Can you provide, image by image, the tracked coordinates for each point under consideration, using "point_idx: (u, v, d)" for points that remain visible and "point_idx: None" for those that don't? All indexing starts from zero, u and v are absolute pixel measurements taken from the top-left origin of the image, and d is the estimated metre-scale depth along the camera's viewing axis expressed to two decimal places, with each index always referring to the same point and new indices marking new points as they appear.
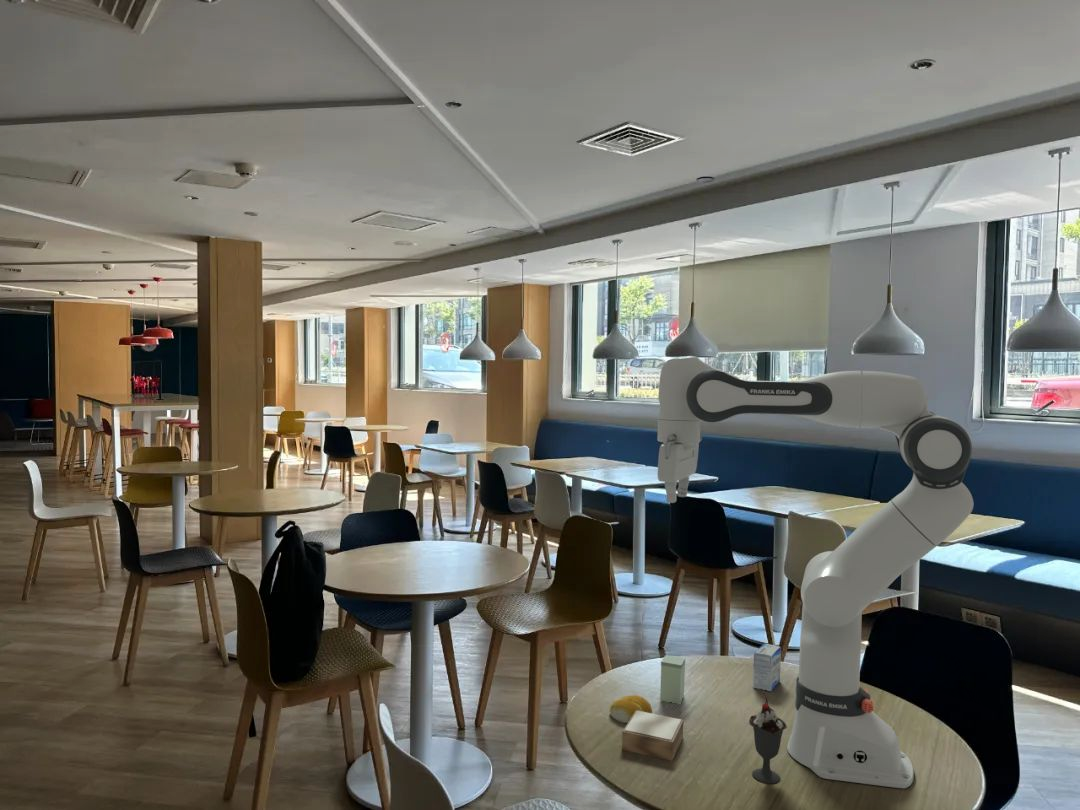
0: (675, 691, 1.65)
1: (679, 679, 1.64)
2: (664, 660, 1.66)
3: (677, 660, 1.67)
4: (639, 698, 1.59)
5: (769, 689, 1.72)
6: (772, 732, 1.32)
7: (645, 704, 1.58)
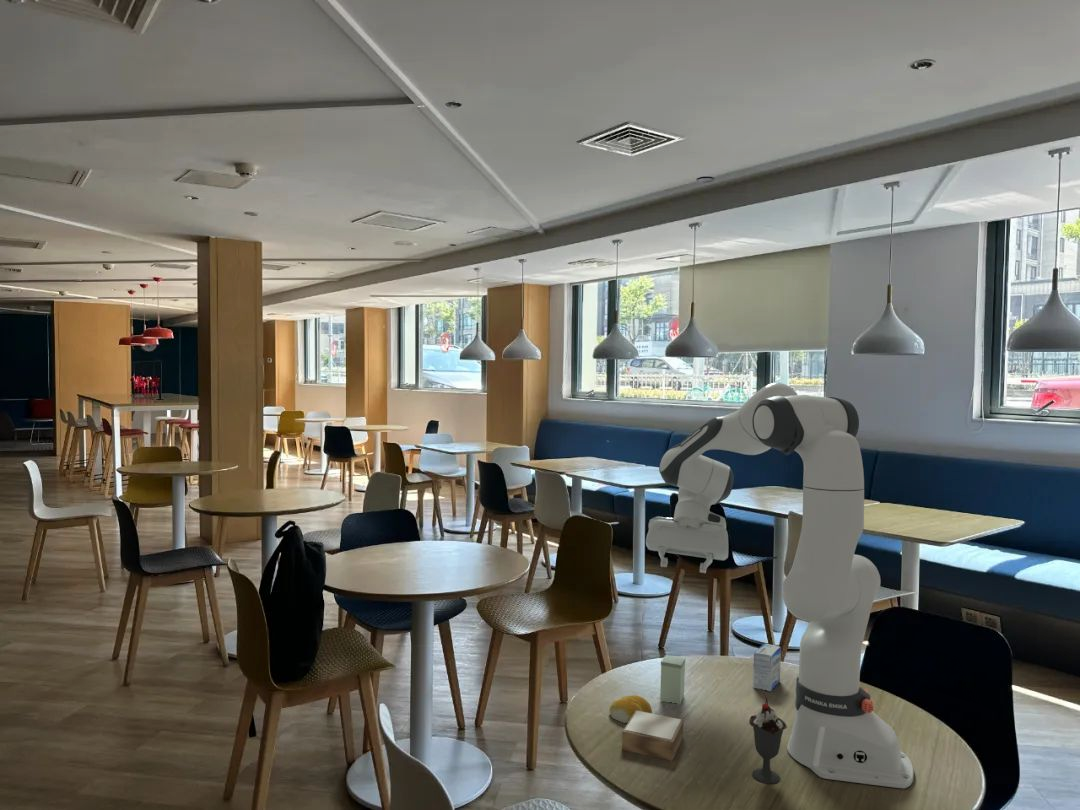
0: (675, 691, 1.65)
1: (679, 679, 1.64)
2: (664, 660, 1.66)
3: (677, 660, 1.67)
4: (639, 698, 1.59)
5: (769, 689, 1.72)
6: (772, 732, 1.32)
7: (645, 704, 1.58)
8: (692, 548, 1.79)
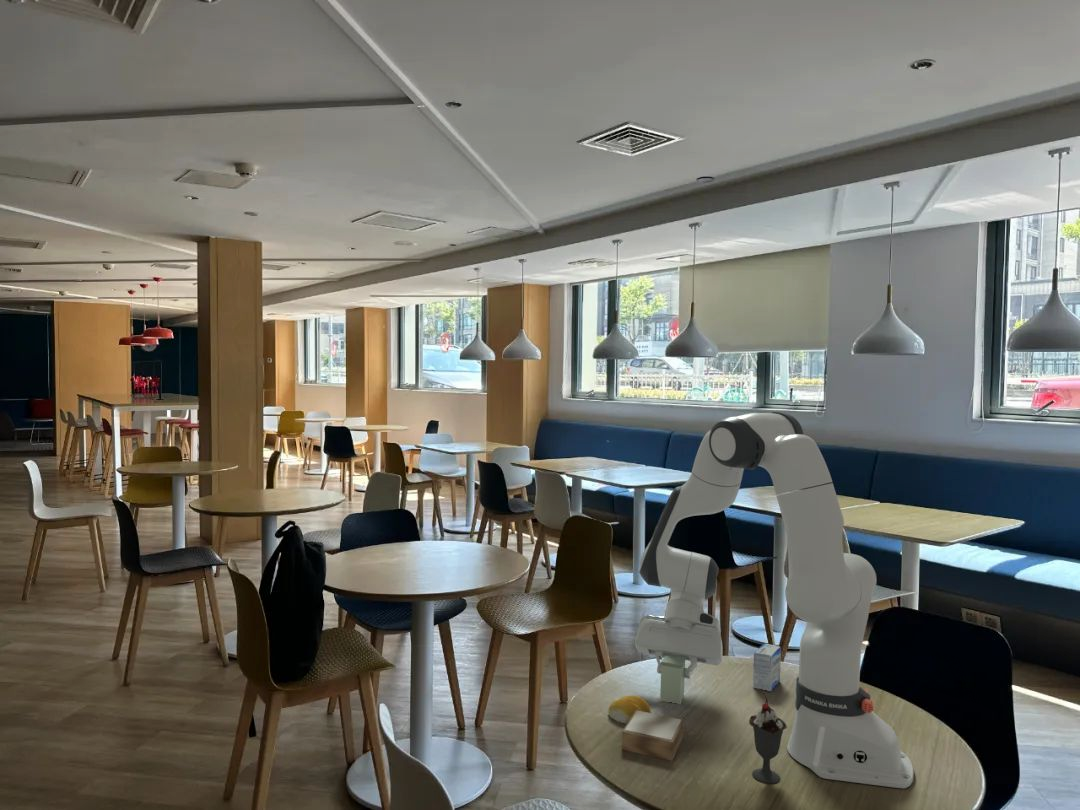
0: (675, 691, 1.65)
1: (679, 679, 1.64)
2: (664, 660, 1.66)
3: (677, 659, 1.67)
4: (638, 698, 1.59)
5: (769, 689, 1.72)
6: (772, 732, 1.32)
7: (644, 704, 1.58)
8: (683, 652, 1.69)
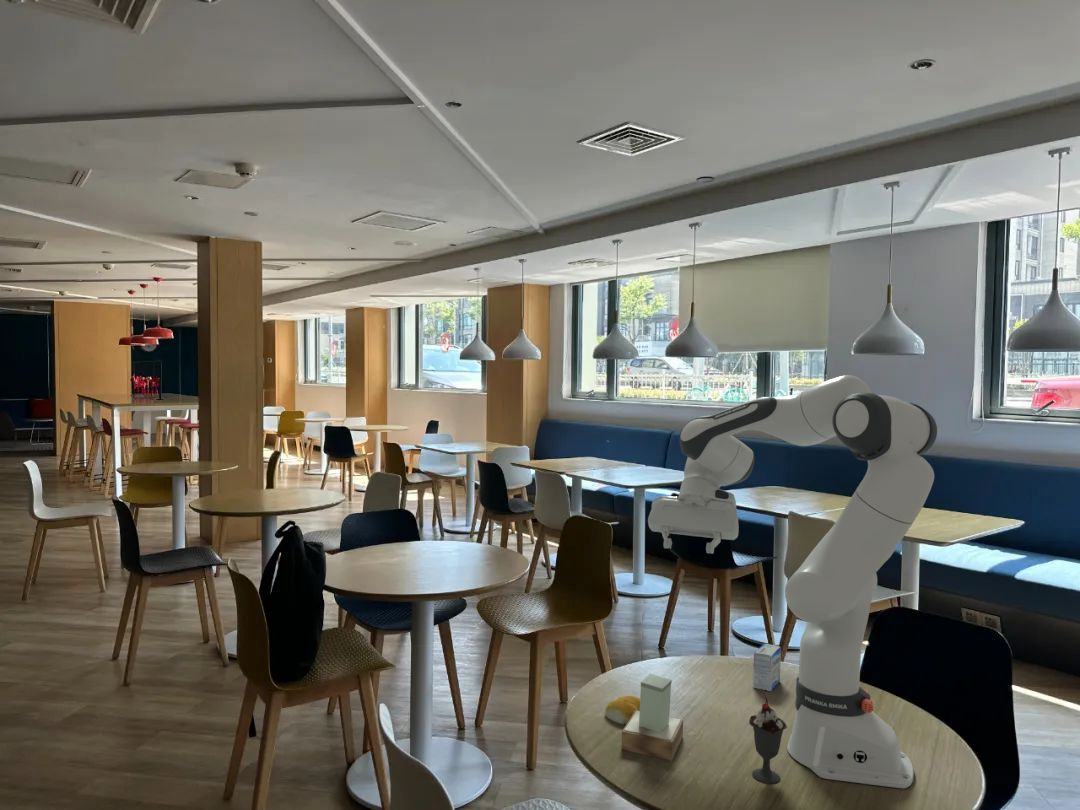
0: (655, 717, 1.43)
1: (660, 704, 1.43)
2: (645, 680, 1.45)
3: (660, 681, 1.45)
4: (635, 699, 1.59)
5: (769, 689, 1.72)
6: (772, 732, 1.32)
7: None
8: (698, 527, 1.64)
